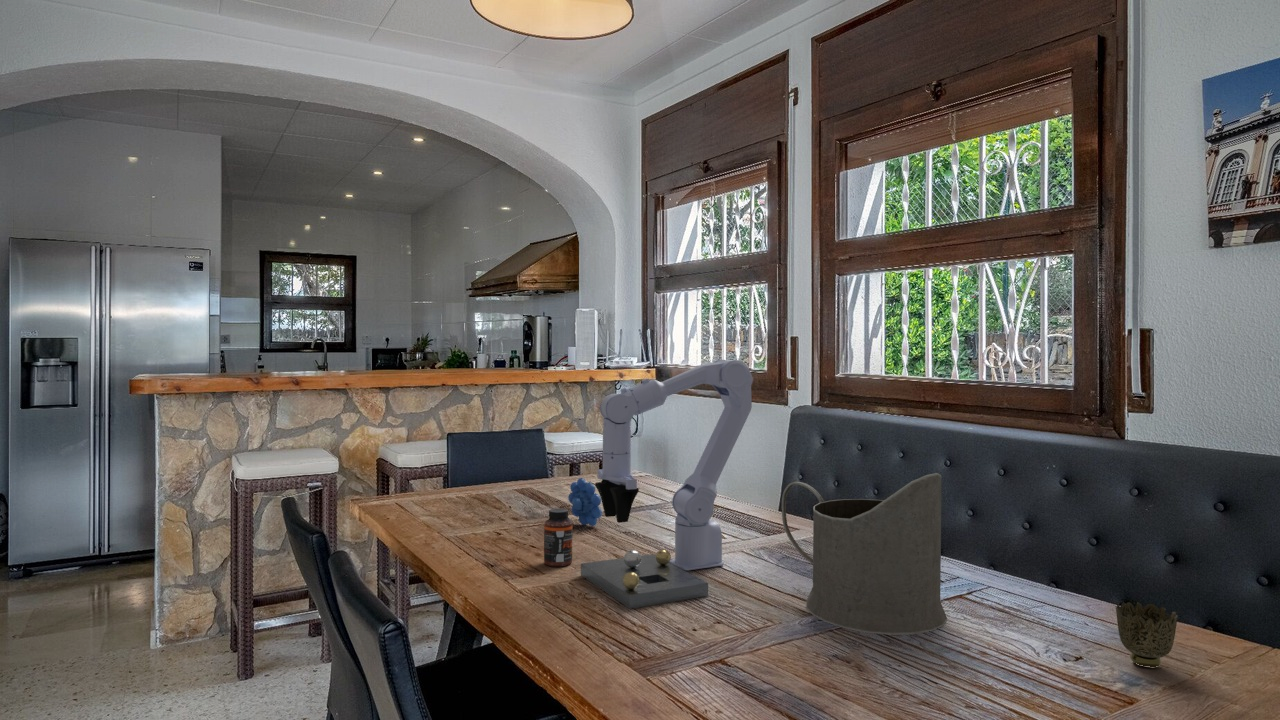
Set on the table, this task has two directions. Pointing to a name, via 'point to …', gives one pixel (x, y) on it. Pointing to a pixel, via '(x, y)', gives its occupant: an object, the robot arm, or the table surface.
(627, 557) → the steel ball
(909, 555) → the pitcher
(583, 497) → the grapes
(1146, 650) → the cup
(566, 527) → the supplement bottle
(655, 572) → the plate
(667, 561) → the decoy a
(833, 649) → the table surface
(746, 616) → the table surface
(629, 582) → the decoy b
